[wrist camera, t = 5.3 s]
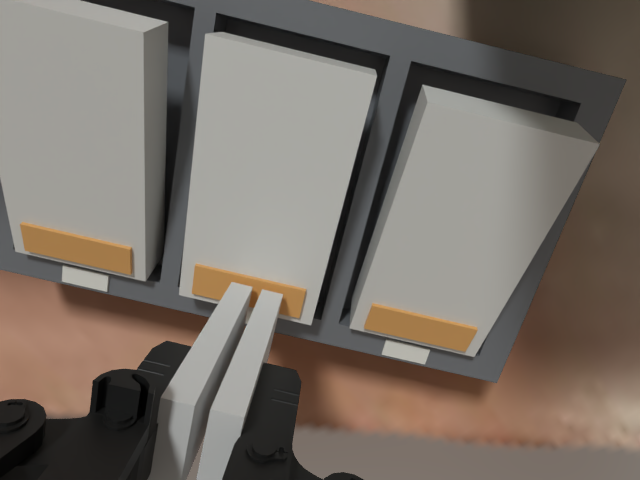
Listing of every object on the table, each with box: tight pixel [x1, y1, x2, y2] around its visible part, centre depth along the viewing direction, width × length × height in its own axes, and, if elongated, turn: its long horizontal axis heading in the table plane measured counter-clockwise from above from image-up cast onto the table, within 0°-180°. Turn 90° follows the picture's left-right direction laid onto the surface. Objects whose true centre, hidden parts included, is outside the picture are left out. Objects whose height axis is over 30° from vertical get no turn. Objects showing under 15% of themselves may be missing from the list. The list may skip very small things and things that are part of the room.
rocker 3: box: [349, 85, 600, 357], centre depth 16 cm, size 5×9×2 cm, turn 167°
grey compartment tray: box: [0, 0, 626, 383], centre depth 18 cm, size 27×12×4 cm, turn 77°
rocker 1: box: [0, 0, 168, 282], centre depth 16 cm, size 5×9×2 cm, turn 167°
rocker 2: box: [179, 32, 377, 325], centre depth 16 cm, size 5×9×2 cm, turn 167°
